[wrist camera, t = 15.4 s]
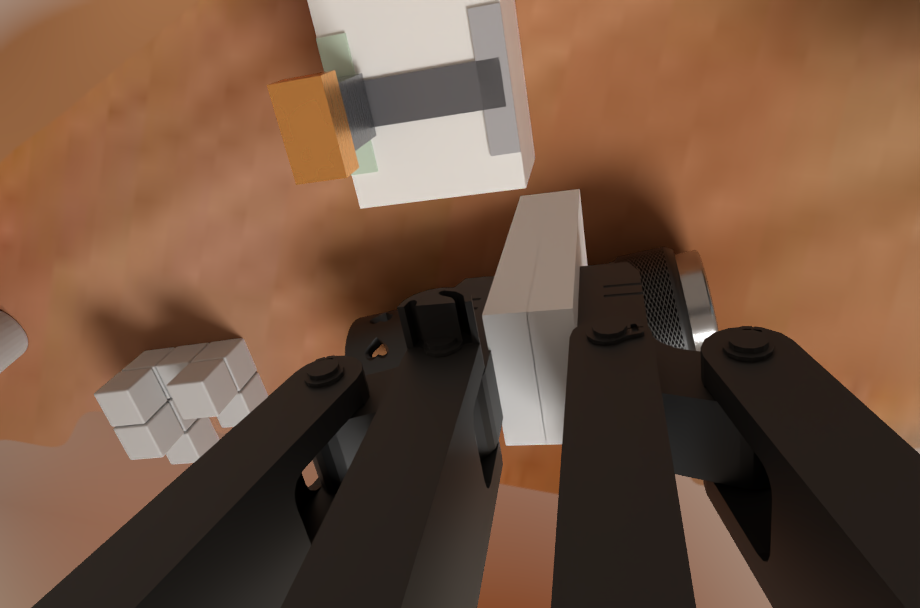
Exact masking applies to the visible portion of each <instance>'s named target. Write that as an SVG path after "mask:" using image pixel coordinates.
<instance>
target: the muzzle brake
mask: <svg viewBox="0 0 920 608" xmlns="http://www.w3.org/2000/svg"><path fill="white" fill-rule="evenodd" d="M621 262H628V263H630V264H631V265H632V266H634V267H635V268H636V269H637V270H639V272H640V278H641V285H642V290H643V297H644V303H645V309H646V316H647V322H648V326H649V328H650V330H651V331H652V336H653V337H654V338H655V339H656V340H658V341H660V342H662V343H664V344H666V345H669V346H672V347H675V348H680V349H685V350H693V351H700V348H701V345H702V343H703V341H704V339H706V338H707V337H709V336H710V335H711V334H713V333H715V332H718V326H717V321H716V316H715V311H714V306H713V302H712V297H711V293H710V289H709V285H708V281H707V277H706V274H705V270H704V266H703V263H702V260H701V257H700V255H699V253H698V252H697V251H696V250H693V251H688V252H684V253H679V254H674V252H673V249H670V248H666V247H660V248H655V249H651V250H646V251H642V252H637V253H633V254H628V255H624V256H619V257H617V258H616V259H615V261H612V262H609V264H611V263H621ZM381 344H383V345H384V346H385V348H386V351H387V354H386V355H383V356H381V355H379V354H378V355H377V356H376V357H373V358H372V354H373V352H374V351H375V350H376V349H377V348H378V347H379V346H380V345H381ZM406 350H407V346H406V342H405V338H404V334H403V330H402V326H401V322H400V317H399V313H398V310H393V311H389V312H384V313H380V314H375V315H371V316H366V317H362V318H359V319H357V320H355V321H354V323H353V324H352V325H351V327H350V329H349V332H348V336H347V339H346V345H345V356H350V357H354V358H357V359H358V360H359V361H360V362H361V363H362V366H363V369H364V373H365V375H368V374H373V373H377V372H381V371H385V370H389V369H392V368H395V367H399V365H400V362H401V360H402V358H403V356H404V354H405V352H406Z"/></svg>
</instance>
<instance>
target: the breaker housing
mask: <svg viewBox="0 0 920 608" xmlns="http://www.w3.org/2000/svg"><path fill="white" fill-rule="evenodd" d="M307 1H308V5H309V9H310V13H311V17H312V21H313V25H314V29H315V33H316V37H317V39H316V42H317V45H318V49H319V53H320V57H321V61H322V65H323V69H324V72H327V71H333V70H335V72H336V76H337V77H343V76H349V75H354V74H360V73H362V75H363V79H364V84H365V88H366V92H367V97H368V101H369V105H370V109H371V114H372V118H373V122H374V127H375V131H376V136H375V137H374V138H372V139H371V140H370V141H368V142H367V143H366V144H364V145H363V146H362V147H360V148H359V149H358V150H356V151H355V152H356V156H357V160H358V164H359V168H358V169H357V170H356V171H355V172H353V173H352V174H351V175H352V178H353V182H354V186H355V189H356V193H357V197H358V201H359V205H360V209H361V208H369V207H377V206H385V205H393V204H401V203H410V202H418V201H426V200H434V199H442V198H450V197H458V196H466V195H474V194H482V193H490V192H498V191H506V190H514V189H523V188H526V187H527V183H528V180H529V177H530V174H531V170H532V167H533V164H534V161H535V152H534V145H533V137H532V129H531V122H530V114H529V106H528V99H527V91H526V83H525V76H524V68H523V60H522V53H521V45H520V37H519V30H518V22H517V14H516V7H515V0H307Z"/></svg>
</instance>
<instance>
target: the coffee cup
mask: <svg viewBox="0 0 920 608" xmlns="http://www.w3.org/2000/svg"><path fill="white" fill-rule="evenodd" d="M27 347H28V339H27V335H26V333H25V331H24V330H23V328H22V327H21V326H20V325H19V323H18V322H17V321H16V320H14V319H13V318H12V317H11V316H9V315H8V314H6V313H4V312H2V311H0V373H1V372H2V371H3V370H4V369H6V368H7V367H8V366H9V365H10V364H11V363H13V362H14V361H15V360H16V359H17V358H19V357H20V356H21V355H22V354H23V353H24V352H25V351H26V349H27Z"/></svg>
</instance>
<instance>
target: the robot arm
mask: <svg viewBox="0 0 920 608" xmlns="http://www.w3.org/2000/svg"><path fill="white" fill-rule="evenodd" d="M397 309H398V313H399V317H400V322H401V326H402V330H403V334H404V338H405V342H406V346H407V350H406V352H405V354H404V356H403V358H402V360H401V362H400V365H399V367H395V368H392V369H389V370H385V371H381V372H377V373H373V374H368V375H365V373H364V369H363V366H362V363H361V362H360V361H359V360H358V359H357V358H354V357H350V356H327V357H326V358H325V357H323V358H320V359H317V360H316V361H314V362H312V363H310V364H307V365H305V366H304V367H302V368H301V369H300V370H298V371H297V372H295V373H294V374H293V375H292V376H291V377H290V378H288V379H287V380H286V381H285V382H284V383H283V384H282V385H281V386H279V387H278V388H277V389H276V390H275V391H274V392H273V393H272V394H271V395H269V396H268V397H267V398H266V399H265V400H264V401H263V402H262V403H260V404H259V405H258V406H257V407H256V408H255V409H254V410H253V411H251V412H250V413H249V414H248V415H247V416H246V417H245V418H244V419H242V420H241V421H240V422H239V423H238V424H237V425H236V426H235V427H234V428H232V429H231V430H230V431H229V432H228V433H227V434H226V435H225V436H224V437H222V439H220V440H219V441H218V442H217V443H216V444H214V445H213V446H212V447H211V448H210V449H209V450H208V451H207V452H205V453H204V454H203V455H202V456H201V457H200V458H199V459H198V460H197V461H195V462H194V463H193V464H192V465H191V466H190V467H189V468H188V469H186V471H184V472H183V473H182V474H181V475H180V476H179V477H177V478H176V479H175V480H174V481H173V482H172V483H171V484H170V485H169V486H167V487H166V488H165V489H164V490H163V491H162V492H161V493H160V494H158V495H157V496H156V497H155V498H154V499H153V500H152V501H151V502H149V503H148V504H147V505H146V506H145V507H144V508H143V509H142V510H140V511H139V512H138V513H137V514H136V515H135V516H134V517H133V518H132V519H130V520H129V521H128V522H127V523H126V524H125V525H124V526H122V527H121V528H120V529H119V530H118V531H117V532H116V533H115V534H114V535H113V536H111V537H110V538H109V539H108V540H107V541H106V542H105V543H103V544H102V545H101V546H100V547H99V548H98V549H97V550H96V551H94V552H93V553H92V554H91V555H90V556H89V557H88V558H87V559H85V560H84V562H82V563H81V564H80V565H79V566H78V567H77V568H75V569H74V570H73V571H72V572H71V573H70V574H69V575H68V576H66V577H65V578H64V579H63V580H62V581H61V582H60V583H59V584H57V585H56V586H55V587H54V588H53V589H52V590H51V591H50V592H49V593H47V594H46V595H45V596H44V597H43V598H42V599H41V600H39V601H38V602H37V603H36V604H35V605H34V606H33V607H32V608H477V605H478V599H479V594H480V588H481V582H482V577H483V571H484V566H485V560H486V555H487V549H488V543H489V538H490V532H491V527H492V521H493V515H494V510H495V504H496V498H497V493H498V487H499V482H500V476H501V471H502V465H503V462H502V454H501V449H500V444H499V436H500V431H501V426H503V432H504V437H505V443H506V446H510V445H547V444H562V455H561V469H560V484H559V498H558V513H557V528H556V543H555V557H554V572H553V587H552V601H551V608H696V604H695V598H694V592H693V586H692V579H691V573H690V568H689V561H688V554H687V548H686V542H685V536H684V529H683V523H682V517H681V511H680V505H679V498H678V492H677V486H676V480H675V474H678V475H682V476H687V477H692V478H696V479H701V480H704V486H705V490H706V493H707V495H708V497H709V499H710V501H711V502H712V504H713V506H714V507H715V509H716V511H717V513H718V514H719V516H720V518H721V519H722V521H723V523H724V525H725V526H726V528H727V530H728V531H729V533H730V535H731V537H732V538H733V540H734V542H735V543H736V545H737V547H738V549H739V550H740V552H741V554H742V555H743V557H744V559H745V560H746V562H747V564H748V566H749V567H750V569H751V571H752V573H753V574H754V576H755V578H756V579H757V581H758V583H759V585H760V586H761V588H762V590H763V591H764V593H765V595H766V597H767V598H768V600H769V602H770V603H771V605H772V607H773V608H920V454H919V453H918V452H917V451H916V450H915V449H913V448H912V447H911V446H910V445H909V444H908V443H907V442H906V441H905V440H903V439H902V438H901V437H900V436H899V435H898V434H897V433H896V432H895V431H893V430H892V429H891V428H890V427H889V426H888V425H887V424H886V423H884V422H883V421H882V420H881V419H880V418H879V417H878V416H877V415H876V414H874V413H873V412H872V411H871V410H870V409H869V408H868V407H867V406H866V405H864V404H863V403H862V402H861V401H860V400H859V399H858V398H857V397H856V396H854V395H853V394H852V393H851V392H850V391H849V390H848V389H847V388H846V387H844V386H843V385H842V384H841V383H840V382H839V381H838V380H837V379H836V378H834V377H833V376H832V375H831V374H830V373H829V372H828V371H827V370H826V369H824V368H823V367H822V366H821V365H820V364H819V363H818V362H817V361H816V360H814V359H813V358H812V357H811V356H810V355H809V354H808V353H807V352H806V351H804V350H803V349H802V348H801V347H800V346H799V345H798V344H797V343H796V342H794V341H793V340H792V339H790V338H788V337H787V336H785V335H783V334H782V333H779V332H776V331H772V330H769V329H765V328H762V327H752V326H742V327H737V328H728V329H725V330H721V331H718V332H715V333H713V334H711V335H710V336H709V337H707V338H706V339H704V341H703V343H702V345H701V348H700V351H693V350H685V349H680V348H675V347H672V346H669V345H666V344H664V343H662V342H660V341H658V340H656V339H655V338H654V337H653V336H652V331H651V330H650V328H649V326H648V322H647V316H646V309H645V303H644V297H643V290H642V285H641V278H640V272H639V270H637V269H636V268H635V267H634V266H632V265H631V264H630V263H628V262H621V263H611V264H600V265H589V266H588V265H587V256H586V246H585V236H584V226H583V217H582V207H581V197H580V189H575V190H567V191H559V192H550V193H542V194H534V195H526V196H520V199H519V202H518V205H517V208H516V212H515V215H514V218H513V221H512V224H511V227H510V230H509V233H508V236H507V239H506V243H505V246H504V249H503V252H502V255H501V258H500V261H499V264H498V267H497V270H496V273H495V276H489V277H478V278H467V279H464V280H463V281H462V282H461V283H459V284H458V285H457V286H456V287H455V288H437V289H431V290H427V291H424V292H421V293H418V294H415V295H413V296H411V297H409V298H407V299H406V300H404V301H403V302H402V303H401V304H400V305H399V306H398V307H397ZM312 460H313V462H314V465H315V468H316V471H317V474H318V479H317V480H316V481H315V482H314V483H313V484H312V485H311V486H309V487H307V486H306V484H305V481H304V479H303V476H302V471H303V470H304V469H305V467H306V466H307V465H308V464H309V463H310V462H311V461H312Z"/></svg>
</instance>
